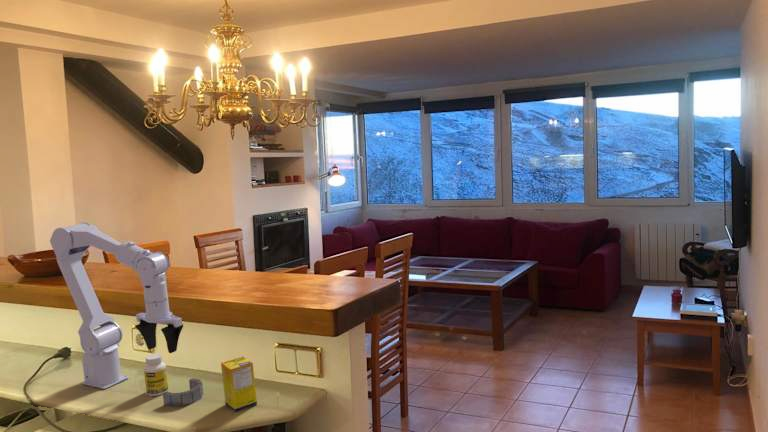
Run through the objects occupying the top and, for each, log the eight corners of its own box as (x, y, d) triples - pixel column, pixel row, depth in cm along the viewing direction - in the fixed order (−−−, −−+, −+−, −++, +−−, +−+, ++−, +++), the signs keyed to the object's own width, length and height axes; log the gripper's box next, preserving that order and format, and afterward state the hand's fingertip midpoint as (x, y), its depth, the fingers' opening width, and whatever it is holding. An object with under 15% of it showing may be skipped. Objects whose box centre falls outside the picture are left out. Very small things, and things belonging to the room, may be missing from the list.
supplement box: (247, 397, 157) (243, 355, 156) (257, 404, 153) (253, 362, 151) (224, 404, 154) (220, 362, 152) (234, 412, 149) (230, 369, 148)
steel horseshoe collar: (164, 404, 156) (162, 393, 155) (193, 389, 164) (192, 378, 164) (182, 409, 153) (180, 397, 152) (211, 392, 161) (210, 381, 161)
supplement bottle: (145, 398, 160) (141, 361, 159) (147, 389, 165) (143, 354, 164) (168, 394, 162) (163, 358, 160) (169, 386, 167) (165, 351, 165)
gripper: (188, 298, 163) (193, 348, 165) (148, 293, 169) (154, 341, 171) (167, 305, 156) (173, 357, 159) (127, 300, 163) (133, 350, 165)
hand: (162, 350), depth 165 cm, fingers open, 7 cm apart
